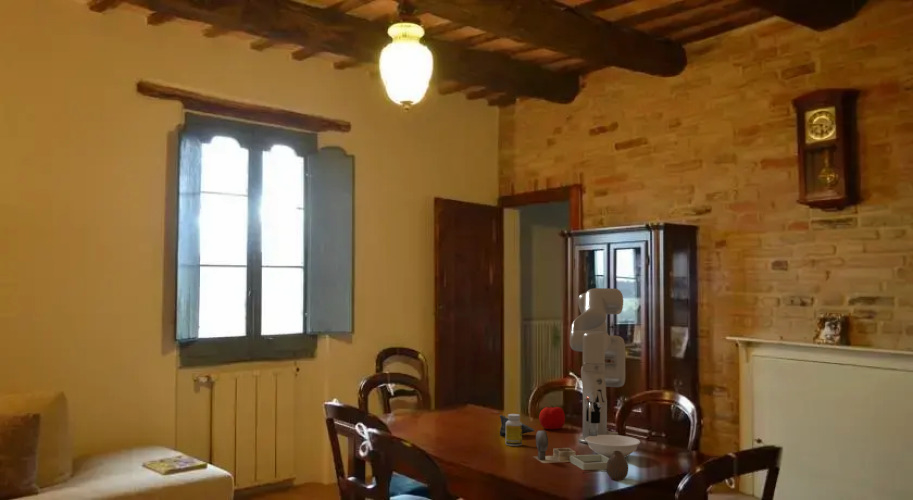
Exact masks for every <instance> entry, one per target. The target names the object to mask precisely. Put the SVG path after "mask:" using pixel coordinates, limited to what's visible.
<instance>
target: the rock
mask: <svg viewBox="0 0 913 500" xmlns="http://www.w3.org/2000/svg"><path fill="white" fill-rule="evenodd" d="M499 418H500V425H501V426H500V430H499V436H501V437H506V422H507V421H508V420H509V419H508V417H506V416H505V415H502V414H500V415H499ZM532 432H535V429H534V428H533V427H530V426H529V425H526V424H525V423H523V422H522V435H523V434H527V433H532Z"/></svg>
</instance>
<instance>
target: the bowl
mask: <svg viewBox="0 0 913 500" xmlns="http://www.w3.org/2000/svg"><path fill="white" fill-rule="evenodd" d="M585 440H586V441H587V443H588V445H587V446H588V447H589V449H591V450H592V451H593V452H594V453H595V454H596V455H598V454H602V455H604V456H606V457H608V458H610V457H611V456H612V454H613V452H614V451H621V452H622V455H623V456H624V457H625V458H626V457H628V456H629V455H632V453H634V452H636V451H637V449H638V446H639V445H640V444H641V441H640V439H638V438H634V437H631V436H626V435H619V434H618V435H597V436H588V437H586V438H585Z"/></svg>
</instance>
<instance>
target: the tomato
mask: <svg viewBox="0 0 913 500" xmlns="http://www.w3.org/2000/svg"><path fill="white" fill-rule="evenodd" d="M559 406H560V405H559V404H558V405H556V406H555V405H551V406H549V405H548V406H545V407H544V408H543V409H541V410H540V412H539V416H538V419H539V423H540V425H541V426H542V428H544V429H546V430H559V429H561V428H563V427H564V425H565V422H566V416H565V415H566V414H565V412H564V409H563V408H562V407H559Z"/></svg>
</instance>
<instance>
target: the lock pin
mask: <svg viewBox="0 0 913 500" xmlns="http://www.w3.org/2000/svg"><path fill="white" fill-rule="evenodd" d="M586 400H587V401H589V398H588V397H586ZM595 402H598V401H597V400H596V401H595ZM595 405H596V404H595ZM591 411H592V402H590V401H589V425H588V435H589V436H597V423H591Z"/></svg>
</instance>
